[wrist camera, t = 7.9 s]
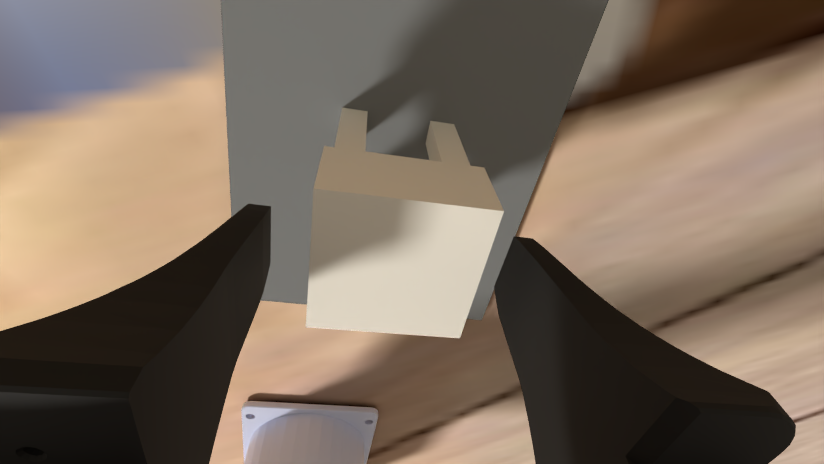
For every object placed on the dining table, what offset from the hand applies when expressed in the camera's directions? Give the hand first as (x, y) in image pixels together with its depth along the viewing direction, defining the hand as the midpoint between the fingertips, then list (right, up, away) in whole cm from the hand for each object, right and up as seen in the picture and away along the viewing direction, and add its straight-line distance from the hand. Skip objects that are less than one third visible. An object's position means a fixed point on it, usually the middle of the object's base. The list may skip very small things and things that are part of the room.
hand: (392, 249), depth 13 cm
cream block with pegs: (0, +3, +4) cm, 5 cm away
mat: (0, +3, +5) cm, 6 cm away
